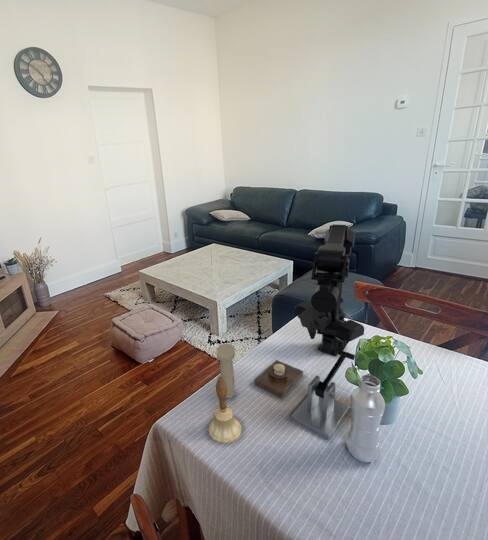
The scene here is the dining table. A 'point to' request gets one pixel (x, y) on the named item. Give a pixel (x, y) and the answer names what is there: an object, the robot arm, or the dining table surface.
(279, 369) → the button
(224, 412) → the hand bell
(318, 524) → the dining table surface
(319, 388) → the lever
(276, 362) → the button block
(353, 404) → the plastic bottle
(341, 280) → the robot arm
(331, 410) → the bracket
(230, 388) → the handle
